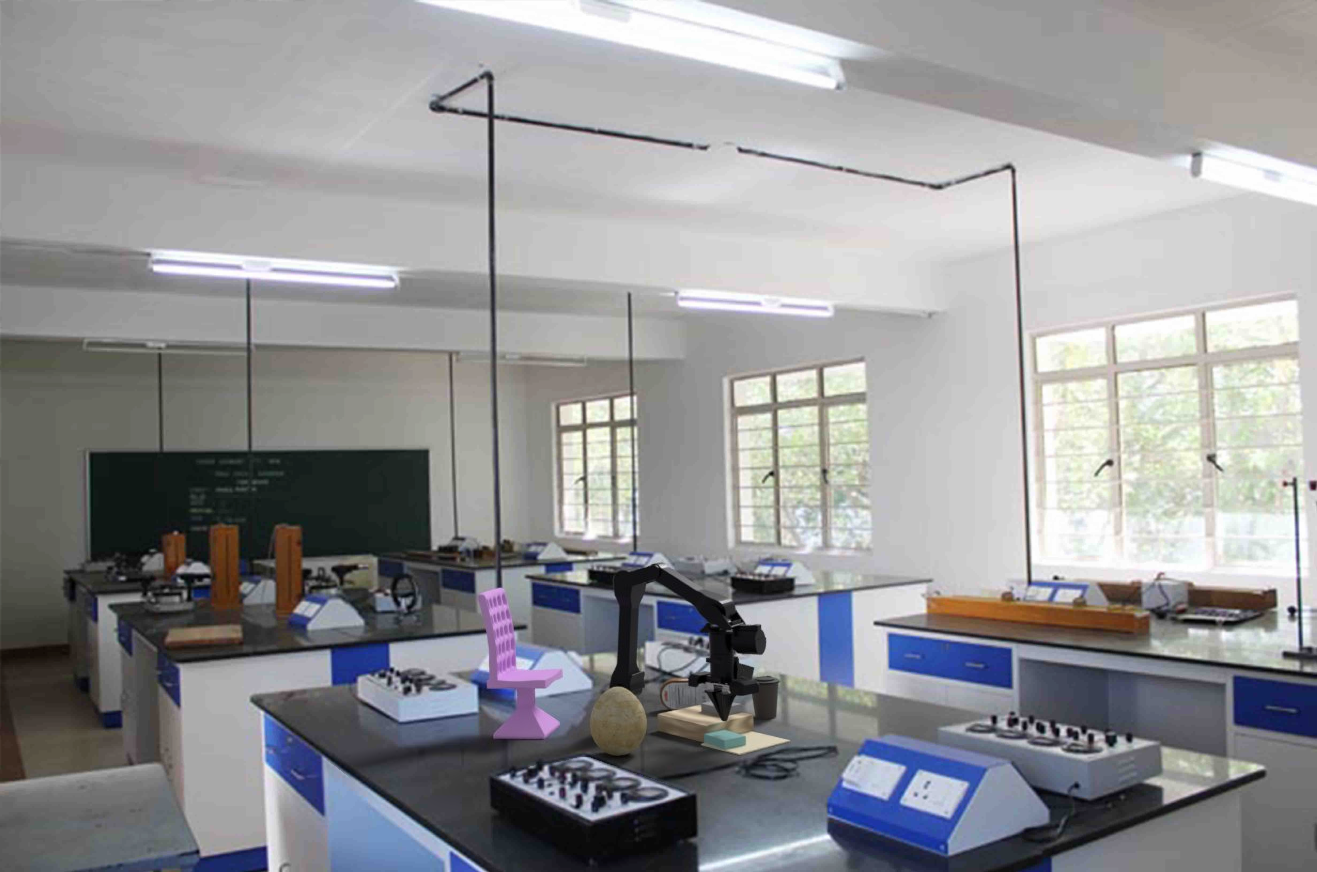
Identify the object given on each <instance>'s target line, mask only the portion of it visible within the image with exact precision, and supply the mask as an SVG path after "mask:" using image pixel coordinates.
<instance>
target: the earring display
mask: <svg viewBox="0 0 1317 872" xmlns="http://www.w3.org/2000/svg"><path fill="white" fill-rule="evenodd" d="M476 598H477V601H478V605H479V608H480V611H481V615H482V617H483V623H484V627H485V631H486V632H485V633H486V638H487V639H486V640H487V645H488V646H487V647H488V669H489V676H488V679H486V689H491V690H492V689H494V690H495V689H496V690H497V689H507V690H508V689H509V690H516V707H517V708H516V710H515V711H514V712H513V713H512V714H511V715H510V716H509V717H508V718H507V719H506V720H505V721H504V722H503V723H502V724H501V725H500V727H498V728H497V730H496V731H494V733H493V734H492V735H493V739H494V740H497V739H499V740H500V739H502V740H506V739H507V740H509V739H510V740H512V739H514V740H524V739H525V740H545V739H547V738H548V737H549V736H550V735H551V734H552V733H554V732H555V731H556V730H557V729H558V728H560V727H559V726H561V725H560V724H561V723H560V721H559V720H557V718H554V717H553V716H552V715H550V714H548V713H547V712H546V711H544V710H543V709H541V708H539V707H538V706H537V705H536V689H537V690H538V689H539V690H540V689H543V690H544V689H547V688H549V687H550V686H551V685H552V684H553V683H554V682H555V681H557V680H561V679H562V678H563V668H549V669H522V668H521V669H520V668H518V669H517V653H516V652H517V650H516V637H515V636H516V635H515V629H514V624H513V617H512V614H511V609H510V606H509V602H508V597H507V594H506V591H505V589H504V588H503V587H496V588H494V589H489V590H486V591H483V592H481V593H478V594H477V597H476Z"/></svg>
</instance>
